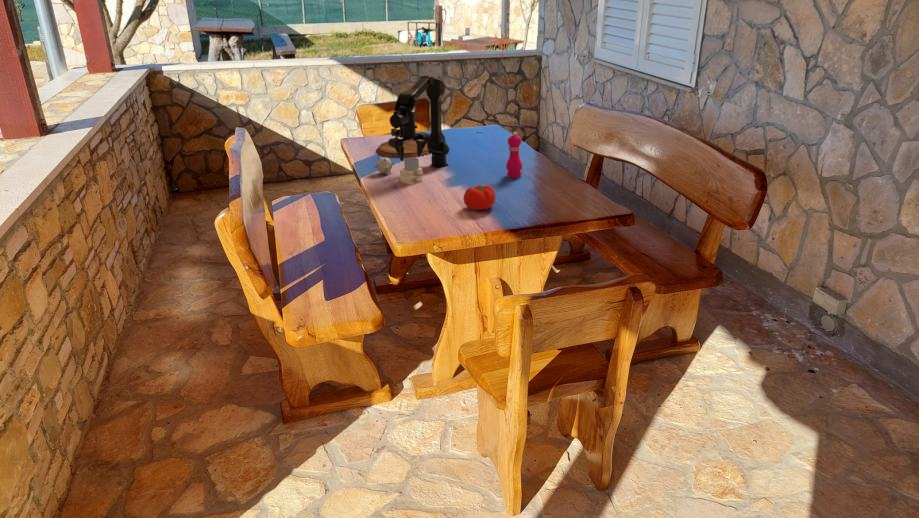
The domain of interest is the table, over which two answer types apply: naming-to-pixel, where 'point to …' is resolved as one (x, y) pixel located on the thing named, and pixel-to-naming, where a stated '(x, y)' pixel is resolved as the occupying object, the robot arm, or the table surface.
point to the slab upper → (411, 173)
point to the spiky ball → (384, 165)
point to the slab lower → (410, 180)
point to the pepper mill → (514, 157)
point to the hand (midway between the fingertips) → (410, 158)
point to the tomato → (479, 197)
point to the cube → (411, 163)
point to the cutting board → (409, 150)
